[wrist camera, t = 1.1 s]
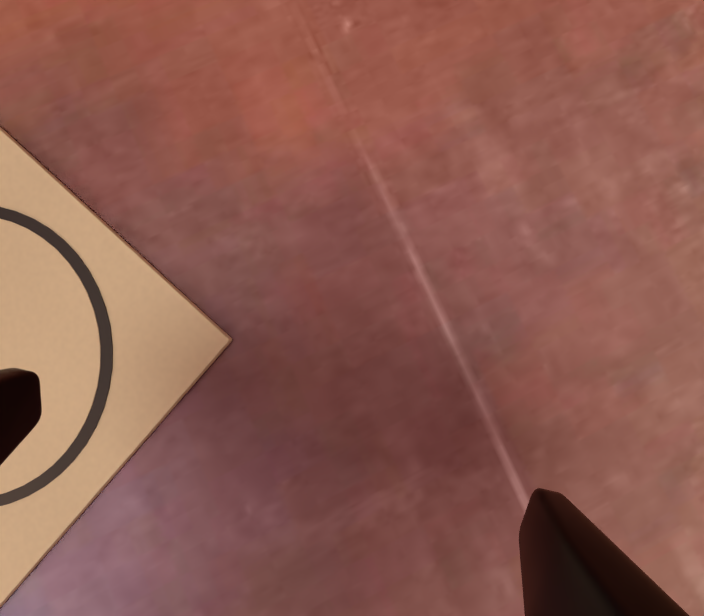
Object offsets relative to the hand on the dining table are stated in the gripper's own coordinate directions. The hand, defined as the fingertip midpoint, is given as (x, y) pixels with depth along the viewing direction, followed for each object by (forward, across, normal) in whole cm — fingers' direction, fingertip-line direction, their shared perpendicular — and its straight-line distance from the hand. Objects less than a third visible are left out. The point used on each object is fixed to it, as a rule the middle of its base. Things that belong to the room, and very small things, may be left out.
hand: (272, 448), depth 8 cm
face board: (+13, +20, +9) cm, 25 cm away
